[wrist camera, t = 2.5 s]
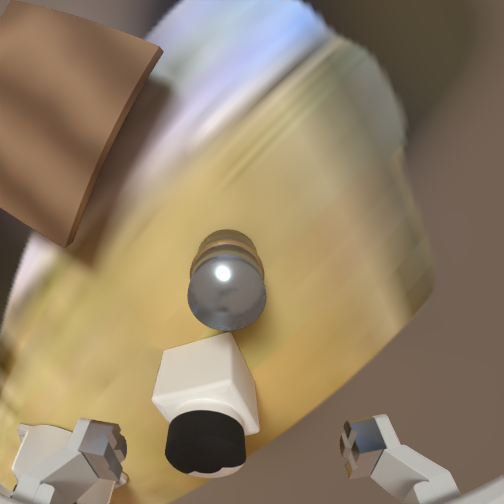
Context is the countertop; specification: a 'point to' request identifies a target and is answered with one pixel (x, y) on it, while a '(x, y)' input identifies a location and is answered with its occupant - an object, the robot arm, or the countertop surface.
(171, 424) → the medicine bottle
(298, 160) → the countertop surface
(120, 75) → the walnut stand
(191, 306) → the grey metal cylinder
